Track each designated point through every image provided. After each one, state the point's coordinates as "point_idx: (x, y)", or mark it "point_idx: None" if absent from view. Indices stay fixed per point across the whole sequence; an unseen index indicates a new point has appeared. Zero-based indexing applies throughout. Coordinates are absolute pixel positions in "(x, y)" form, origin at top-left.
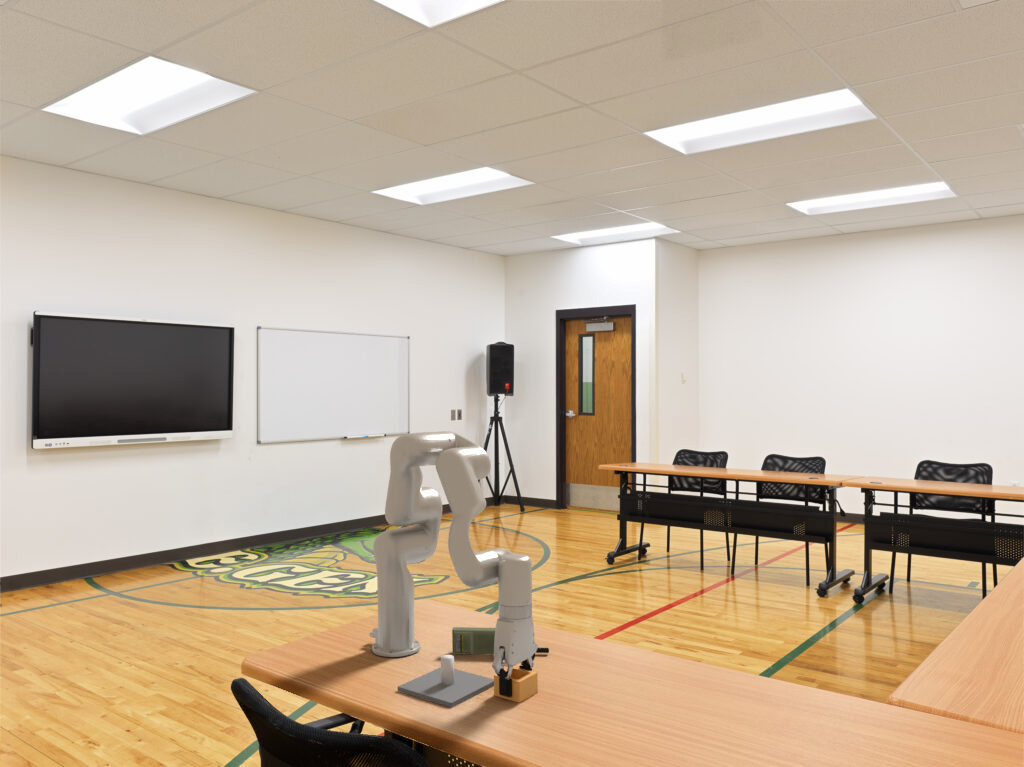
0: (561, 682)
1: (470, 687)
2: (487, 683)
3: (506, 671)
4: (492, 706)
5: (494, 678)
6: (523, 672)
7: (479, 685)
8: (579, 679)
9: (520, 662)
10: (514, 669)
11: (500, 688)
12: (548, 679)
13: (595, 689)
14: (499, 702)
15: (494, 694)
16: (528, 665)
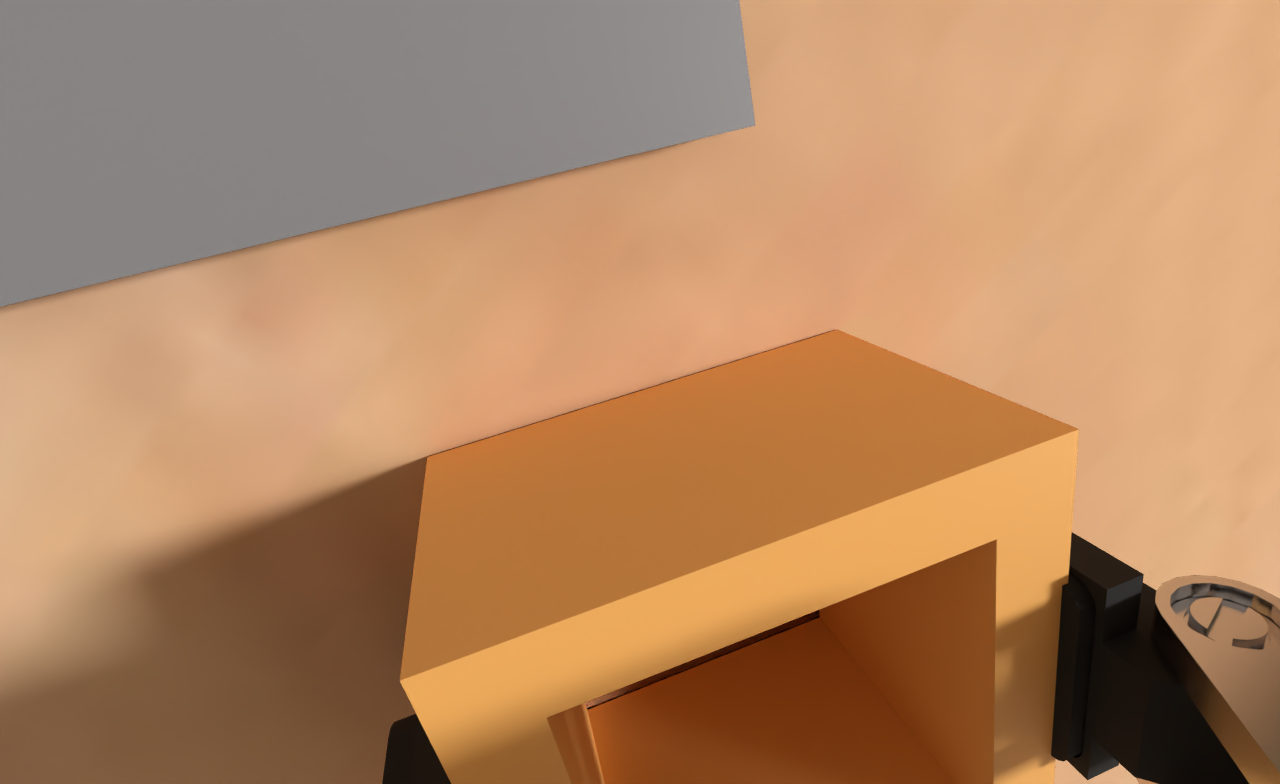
0: (1161, 552)
1: (80, 50)
2: (534, 142)
3: (786, 613)
4: (192, 728)
5: (413, 636)
6: (972, 699)
7: (336, 111)
8: (1268, 576)
9: (1194, 655)
10: (980, 558)
11: (385, 769)
12: (1173, 429)
13: None
14: (355, 667)
15: (430, 469)
16: (1150, 770)
